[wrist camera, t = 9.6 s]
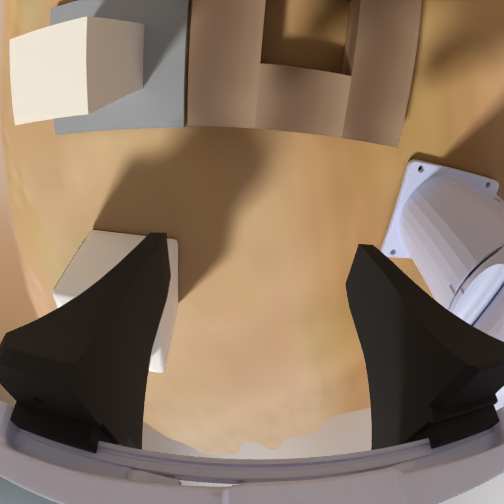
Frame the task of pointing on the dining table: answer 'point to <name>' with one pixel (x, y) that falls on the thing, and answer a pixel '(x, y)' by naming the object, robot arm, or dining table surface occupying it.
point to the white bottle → (101, 262)
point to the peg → (74, 67)
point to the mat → (154, 65)
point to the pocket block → (303, 73)
